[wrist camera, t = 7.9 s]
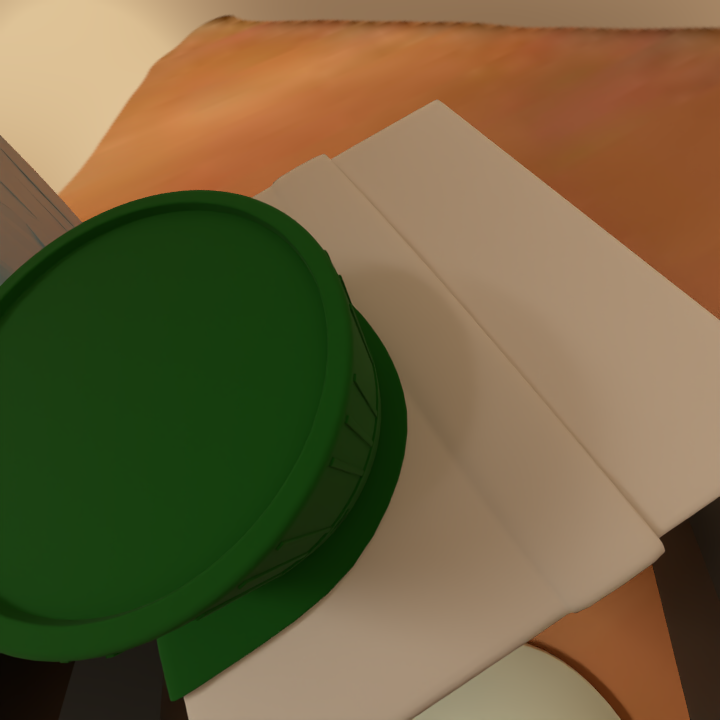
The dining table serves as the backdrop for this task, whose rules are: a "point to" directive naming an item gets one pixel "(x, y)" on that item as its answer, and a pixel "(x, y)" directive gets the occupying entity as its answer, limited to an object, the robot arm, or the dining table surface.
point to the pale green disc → (524, 692)
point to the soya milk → (342, 428)
